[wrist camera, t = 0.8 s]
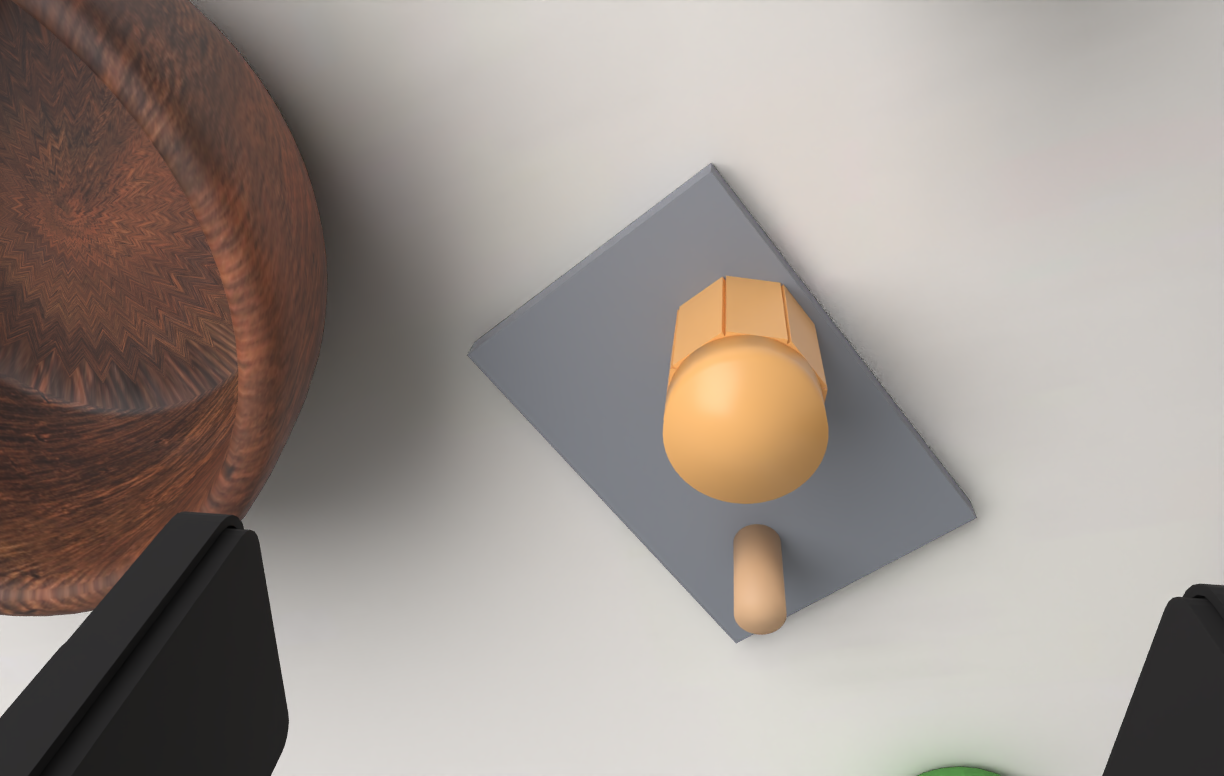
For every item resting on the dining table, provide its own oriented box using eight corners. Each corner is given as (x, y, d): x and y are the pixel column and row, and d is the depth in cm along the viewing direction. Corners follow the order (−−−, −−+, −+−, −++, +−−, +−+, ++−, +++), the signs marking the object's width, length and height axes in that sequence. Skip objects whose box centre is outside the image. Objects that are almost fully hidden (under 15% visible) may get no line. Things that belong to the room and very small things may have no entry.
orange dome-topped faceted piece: (758, 251, 35) (764, 330, 29) (838, 355, 36) (861, 451, 30) (646, 329, 37) (629, 419, 30) (727, 425, 38) (727, 529, 32)
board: (711, 162, 35) (708, 209, 30) (969, 501, 40) (1004, 589, 35) (474, 342, 39) (436, 409, 34) (735, 625, 44) (736, 719, 39)
